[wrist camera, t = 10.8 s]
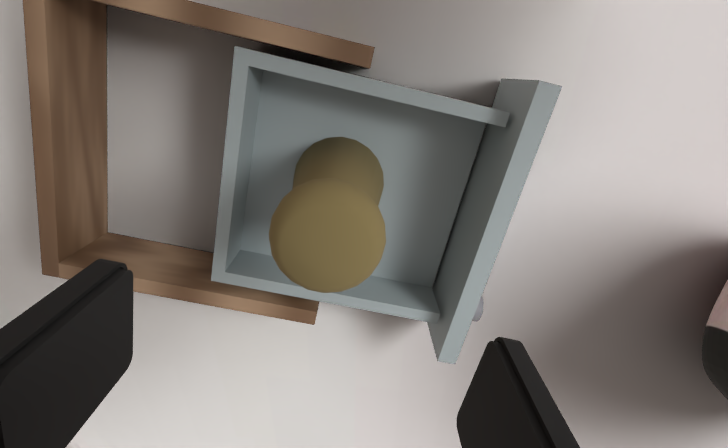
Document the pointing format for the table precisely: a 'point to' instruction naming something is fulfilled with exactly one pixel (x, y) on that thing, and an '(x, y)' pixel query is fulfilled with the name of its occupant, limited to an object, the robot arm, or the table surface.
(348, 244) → the cork
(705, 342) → the packaged food
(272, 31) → the frame
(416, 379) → the table surface
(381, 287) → the tray
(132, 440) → the table surface
